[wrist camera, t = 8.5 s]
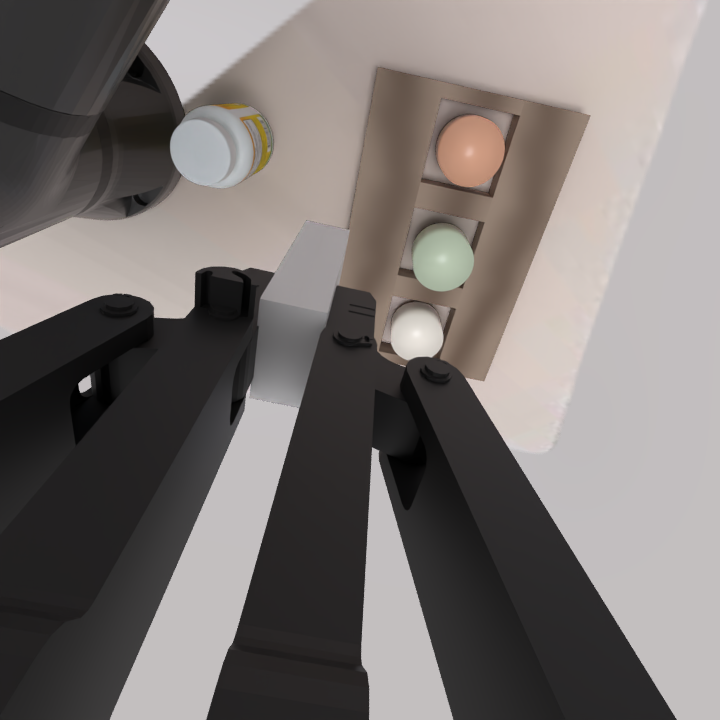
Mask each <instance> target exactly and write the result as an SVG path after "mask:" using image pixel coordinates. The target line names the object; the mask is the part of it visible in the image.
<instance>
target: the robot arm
mask: <svg viewBox="0 0 720 720" xmlns="http://www.w3.org/2000/svg"><path fill="white" fill-rule="evenodd" d="M169 1H170V0H0V248H1V247H4V246H6V245H8V244H11V243H13V242H15V241H18V240H20V239H22V238H25V237H27V236H29V235H32V234H34V233H36V232H39V231H41V230H43V229H46V228H48V227H50V226H53V225H55V224H57V223H60V222H62V221H64V220H66V219H69V218H71V217H78V218H87V219H96V220H119V219H125V218H129V217H133V216H136V215H138V214H140V213H143V212H145V211H146V210H148V209H150V208H152V207H154V206H156V205H157V204H159V203H160V202H161V201H163V200H164V199H165V198H166V197H167V196H168V195H169V194H170V193H171V191H172V190H173V189H174V187H175V186H176V184H177V182H178V181H179V178H180V176H181V173H180V172H179V171H178V170H177V168H176V166H175V165H174V162H173V160H172V157H171V153H170V141H171V137H172V134H173V132H174V130H175V129H176V128H177V126H179V125H180V124H181V122H182V120H183V119H184V117H185V116H184V112H183V108H182V104H181V101H180V99H179V96H178V93H177V91H176V89H175V86H174V84H173V82H172V80H171V78H170V77H169V75H168V73H167V71H166V70H165V68H164V67H163V65H162V64H161V62H160V61H159V60H158V58H157V57H156V56H155V55H154V53H153V52H152V51H151V50H150V48H149V47H148V46H147V45H146V44H145V41H146V39H147V38H148V36H149V34H150V33H151V31H152V29H153V28H154V26H155V24H156V23H157V21H158V19H159V18H160V16H161V14H162V13H163V11H164V9H165V8H166V6H167V4H168V3H169ZM349 232H350V230H347V229H343V228H339V227H334V226H330V225H325V224H321V223H317V222H312V221H308V220H306V222H305V224H304V225H303V227H302V229H301V230H300V232H299V234H298V235H297V237H296V239H295V240H294V242H293V244H292V246H291V247H290V249H289V251H288V252H287V254H286V256H285V257H284V259H283V261H282V262H281V264H280V266H279V267H278V269H277V271H276V272H275V273H273V272H268V271H263V270H259V269H254V268H249V269H246V270H243V271H242V270H239V269H236V268H229V267H208V268H203V269H201V270H199V271H197V272H196V273H195V307H194V308H193V309H192V310H191V312H190V313H189V314H188V315H187V316H186V318H183V319H170V318H154V307H153V306H152V304H151V303H150V302H149V301H147V300H145V299H143V298H140V297H136V296H132V295H129V294H124V295H122V294H113V295H105V296H101V297H97V298H94V299H91V300H89V301H87V302H84V303H82V304H80V305H78V306H75V307H73V308H71V309H69V310H66V311H64V312H62V313H60V314H57V315H55V316H53V317H51V318H48V319H46V320H44V321H42V322H39V323H37V324H35V325H33V326H30V327H28V328H26V329H24V330H21V331H19V332H17V333H15V334H12V335H10V336H8V337H6V338H4V339H1V340H0V720H110V717H111V715H112V712H113V710H114V708H115V705H116V703H117V701H118V699H119V696H120V694H121V691H122V689H123V687H124V685H125V682H126V680H127V678H128V676H129V673H130V671H131V668H132V666H133V664H134V662H135V660H136V657H137V655H138V653H139V650H140V648H141V646H142V643H143V641H144V639H145V637H146V634H147V632H148V629H149V627H150V625H151V623H152V621H153V618H154V616H155V614H156V611H157V609H158V607H159V604H160V602H161V600H162V598H163V595H164V593H165V591H166V589H167V586H168V584H169V581H170V579H171V577H172V575H173V572H174V570H175V568H176V566H177V563H178V561H179V559H180V556H181V554H182V552H183V550H184V547H185V545H186V543H187V540H188V538H189V536H190V534H191V531H192V529H193V526H194V524H195V522H196V520H197V517H198V515H199V513H200V511H201V508H202V506H203V504H204V501H205V499H206V497H207V494H208V492H209V490H210V488H211V485H212V483H213V481H214V478H215V476H216V474H217V472H218V469H219V467H220V465H221V462H222V460H223V458H224V456H225V453H226V451H227V449H228V446H229V444H230V442H231V439H232V437H233V435H234V433H235V430H236V428H237V426H238V424H239V421H240V419H241V417H242V414H243V412H244V407H245V398H246V392H247V390H248V388H249V386H250V384H251V388H250V398H253V399H257V400H262V401H267V402H272V403H277V404H282V405H287V406H292V407H297V408H299V412H298V416H297V419H296V423H295V426H294V429H293V433H292V437H291V440H290V444H289V447H288V451H287V455H286V458H285V461H284V465H283V469H282V473H281V476H280V479H279V483H278V486H277V490H276V494H275V497H274V501H273V504H272V508H271V511H270V515H269V518H268V522H267V526H266V529H265V533H264V536H263V540H262V543H261V547H260V550H259V554H258V558H257V561H256V565H255V569H254V572H253V575H252V579H251V583H250V586H249V590H248V593H247V597H246V600H245V604H244V607H243V611H242V615H241V618H240V622H239V625H238V628H237V632H236V635H235V638H234V641H233V643H232V645H231V646H230V647H229V649H228V652H227V654H226V657H225V660H224V662H223V665H222V669H221V672H220V675H219V679H218V682H217V685H216V688H215V692H214V695H213V699H212V702H211V706H210V709H209V712H208V716H207V720H369V684H368V676H367V672H366V670H365V669H364V668H363V666H362V662H361V640H362V621H363V603H364V584H365V564H366V547H367V529H368V510H369V492H370V472H371V455H372V454H371V453H372V447H373V448H375V449H377V450H379V462H380V465H381V469H382V472H383V476H384V479H385V482H386V486H387V490H388V493H389V497H390V500H391V503H392V507H393V511H394V514H395V518H396V521H397V525H398V528H399V531H400V535H401V538H402V542H403V545H404V549H405V552H406V556H407V559H408V563H409V566H410V570H411V573H412V577H413V580H414V584H415V587H416V590H417V594H418V598H419V600H420V605H421V608H422V612H423V615H424V618H425V622H426V625H427V629H428V632H429V636H430V639H431V643H432V646H433V650H434V653H435V657H436V660H437V664H438V667H439V670H440V674H441V678H442V681H443V684H444V688H445V692H446V695H447V698H448V702H449V705H450V709H451V712H452V716H453V719H454V720H677V719H676V718H675V716H674V715H673V713H672V711H671V710H670V708H669V707H668V705H667V703H666V702H665V700H664V698H663V697H662V695H661V694H660V692H659V691H658V689H657V687H656V686H655V684H654V682H653V681H652V679H651V677H650V676H649V674H648V673H647V671H646V670H645V668H644V666H643V665H642V663H641V661H640V660H639V658H638V657H637V655H636V653H635V652H634V650H633V648H632V647H631V645H630V644H629V642H628V640H627V639H626V637H625V635H624V634H623V632H622V631H621V629H620V627H619V626H618V625H617V623H616V621H615V619H614V618H613V616H612V615H611V613H610V611H609V610H608V608H607V606H606V605H605V603H604V602H603V600H602V598H601V597H600V595H599V594H598V592H597V590H596V589H595V587H594V585H593V584H592V583H591V581H590V579H589V577H588V576H587V574H586V572H585V571H584V569H583V568H582V566H581V564H580V563H579V561H578V560H577V558H576V556H575V555H574V553H573V551H572V550H571V548H570V547H569V545H568V543H567V542H566V540H565V539H564V537H563V535H562V534H561V532H560V530H559V529H558V527H557V526H556V524H555V523H554V521H553V519H552V518H551V516H550V514H549V513H548V511H547V510H546V508H545V506H544V505H543V503H542V502H541V500H540V498H539V497H538V495H537V493H536V492H535V490H534V489H533V487H532V485H531V484H530V482H529V480H528V479H527V477H526V476H525V474H524V472H523V471H522V469H521V468H520V466H519V464H518V463H517V461H516V459H515V458H514V456H513V455H512V453H511V451H510V450H509V448H508V447H507V445H506V443H505V442H504V440H503V438H502V437H501V435H500V434H499V432H498V430H497V429H496V427H495V426H494V424H493V422H492V421H491V419H490V417H489V416H488V414H487V413H486V411H485V409H484V408H483V406H482V405H481V403H480V401H479V400H478V398H477V396H476V395H475V393H474V392H473V390H472V388H471V387H470V385H469V384H468V382H467V380H466V379H465V377H464V375H463V374H462V373H461V372H460V371H459V370H458V369H457V368H456V367H454V366H452V365H451V364H449V363H448V362H446V361H444V360H441V359H439V358H432V357H416V358H413V359H410V360H409V362H408V363H407V364H406V367H403V366H400V365H398V364H395V363H393V362H391V361H389V360H388V359H386V358H385V357H383V356H382V355H381V354H380V353H379V352H378V351H377V342H376V339H375V338H374V330H375V314H376V300H375V299H374V297H373V296H372V295H371V293H370V292H366V291H361V290H356V289H352V288H347V287H343V286H339V282H340V277H341V272H342V267H343V262H344V257H345V252H346V247H347V242H348V237H349ZM88 375H90V377H91V386H92V387H91V388H90V389H88V390H87V391H85V392H83V393H80V391H79V386H78V383H79V382H80V381H81V380H82V379H84V378H85V377H87V376H88Z"/></svg>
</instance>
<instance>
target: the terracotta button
mask: <svg viewBox="0 0 720 720" xmlns="http://www.w3.org/2000/svg"><path fill="white" fill-rule="evenodd" d="M504 152H505V144H504V138H503V135H502V133H501V131H500V129H499V128H498V127H497V126H496V125H495V124H494V123H493V122H492V121H490V120H488V119H486V118H484V117H481V116H478V115H474V114H465V115H461V116H458V117H456V118H454V119H452V120H451V121H450V122H449V123H447V124H446V125H445V127H444V128H443V129H442V131H441V132H440V134H439V137H438V139H437V143H436V158H437V162H438V164H439V166H440V168H441V170H442V172H443V173H444V175H445V176H446V177H447V178H448V179H449V180H450V181H451V182H452V183H454V184H456V185H459V186H462V187H474V186H478V185H480V184H483V183H485V182H486V181H488V180H489V179H490V178H491V177H493V176H494V174H495V173H496V172H497V171H498V169H499V167H500V165H501V163H502V161H503V157H504Z"/></svg>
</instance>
